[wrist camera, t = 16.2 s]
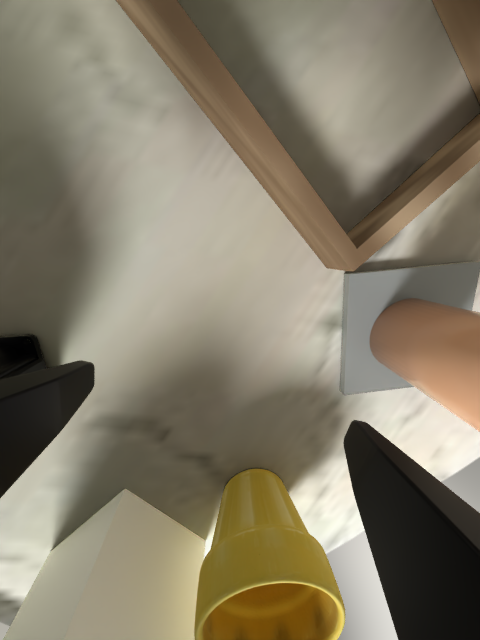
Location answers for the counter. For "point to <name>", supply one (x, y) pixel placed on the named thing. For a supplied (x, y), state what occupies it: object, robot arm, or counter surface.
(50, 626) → the milk
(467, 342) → the terracotta pot
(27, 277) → the counter surface
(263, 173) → the wooden box frame
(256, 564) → the plant pot
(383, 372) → the slate tile
